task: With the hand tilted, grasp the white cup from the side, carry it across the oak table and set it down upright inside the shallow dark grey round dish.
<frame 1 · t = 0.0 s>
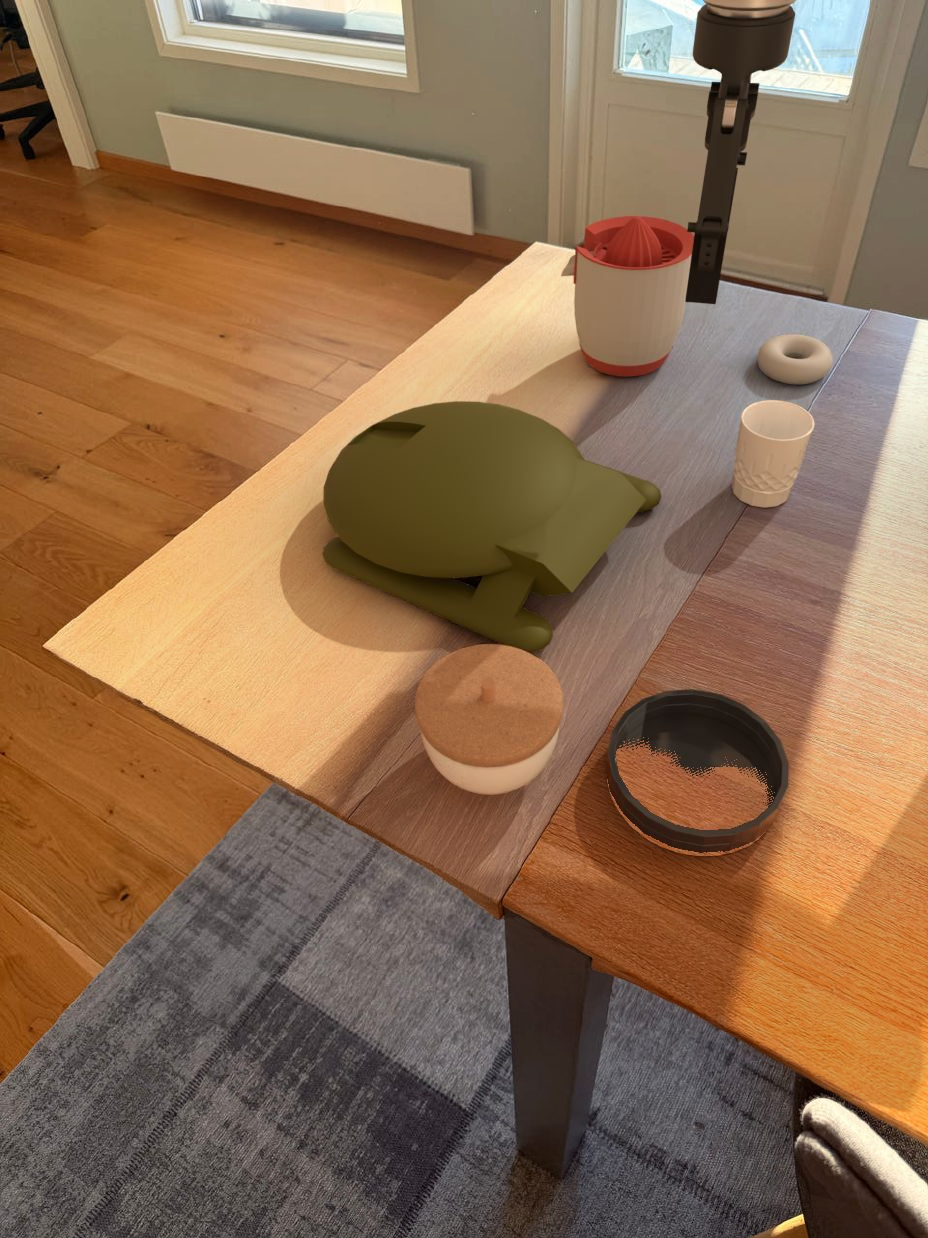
hand: (707, 267, 86), 29 cm above the table, tool pointing down, fingers open, 13 cm apart
spaceship: (474, 524, 107), on the table
white cup: (760, 491, 108), on the table
citrus juicer: (618, 357, 131), on the table
lidded bowl: (491, 761, 83), on the table
dark grey round dish: (692, 780, 81), on the table
donut: (791, 370, 126), on the table
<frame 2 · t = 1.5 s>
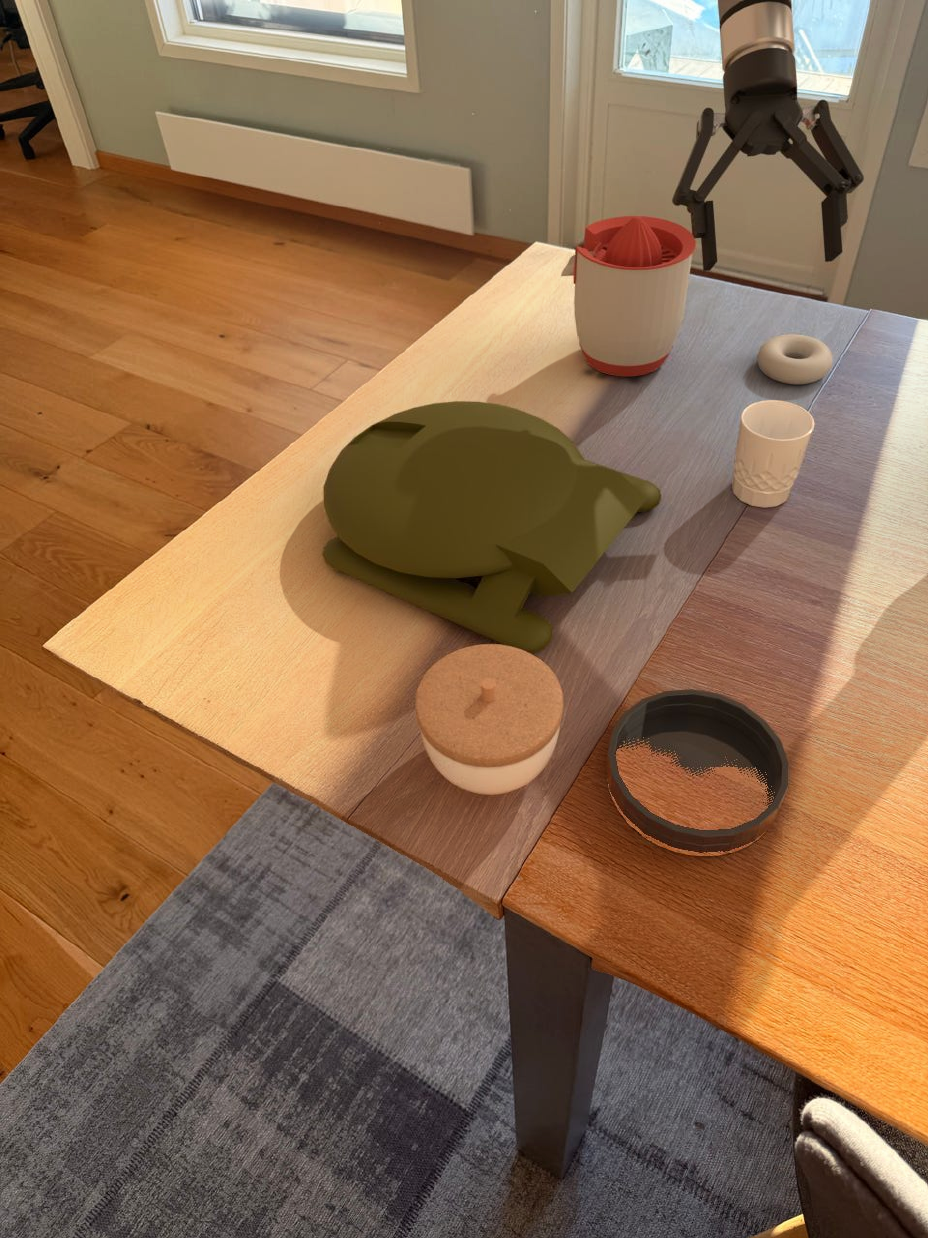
hand: (772, 261, 99), 23 cm above the table, tool tilted 45°, fingers open, 13 cm apart
nothing on the table moved.
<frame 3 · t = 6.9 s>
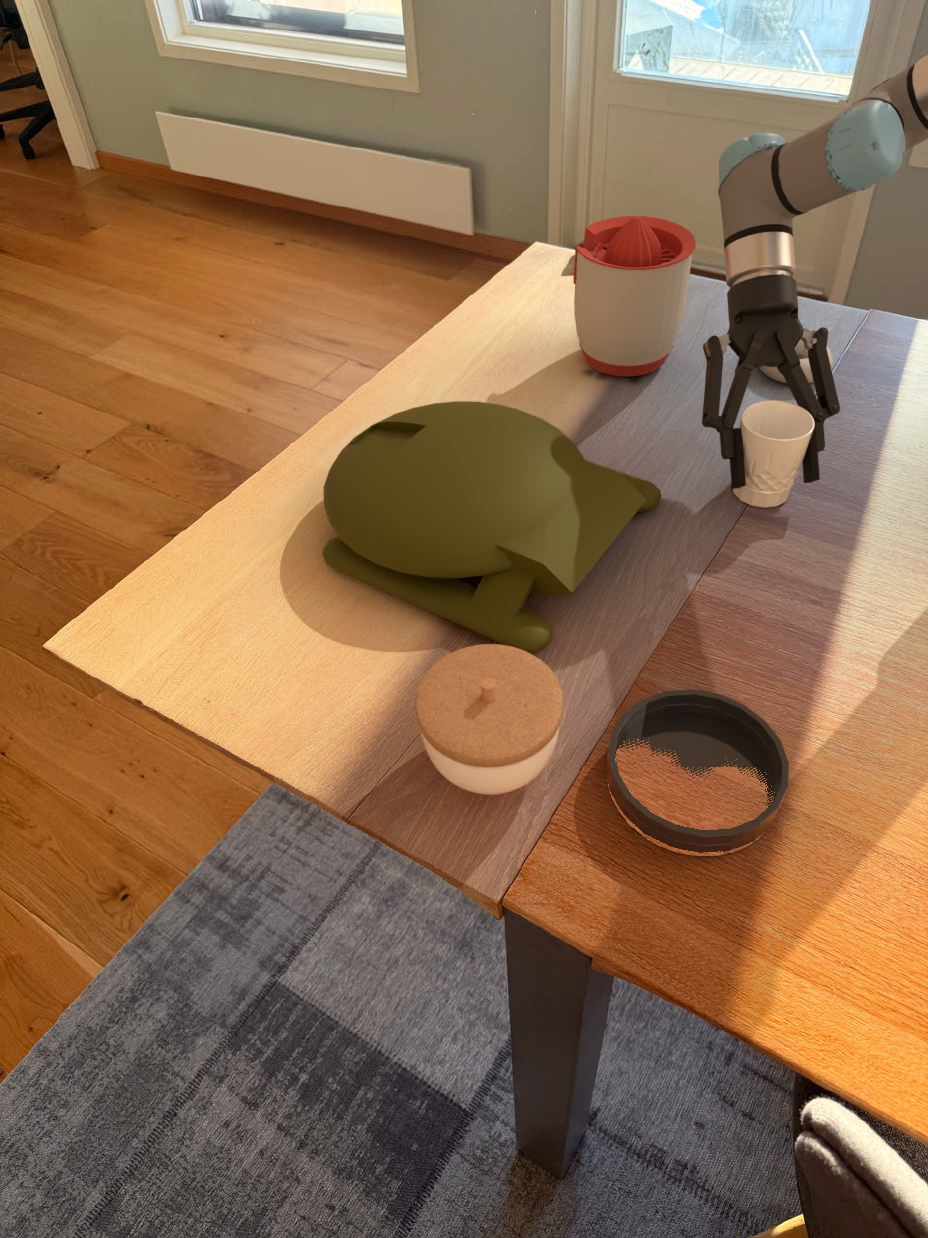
hand: (775, 484, 103), 4 cm above the table, tool tilted 45°, fingers closed on white cup, 8 cm apart
white cup: (760, 491, 108), on the table, touching gripper
everything else where it was.
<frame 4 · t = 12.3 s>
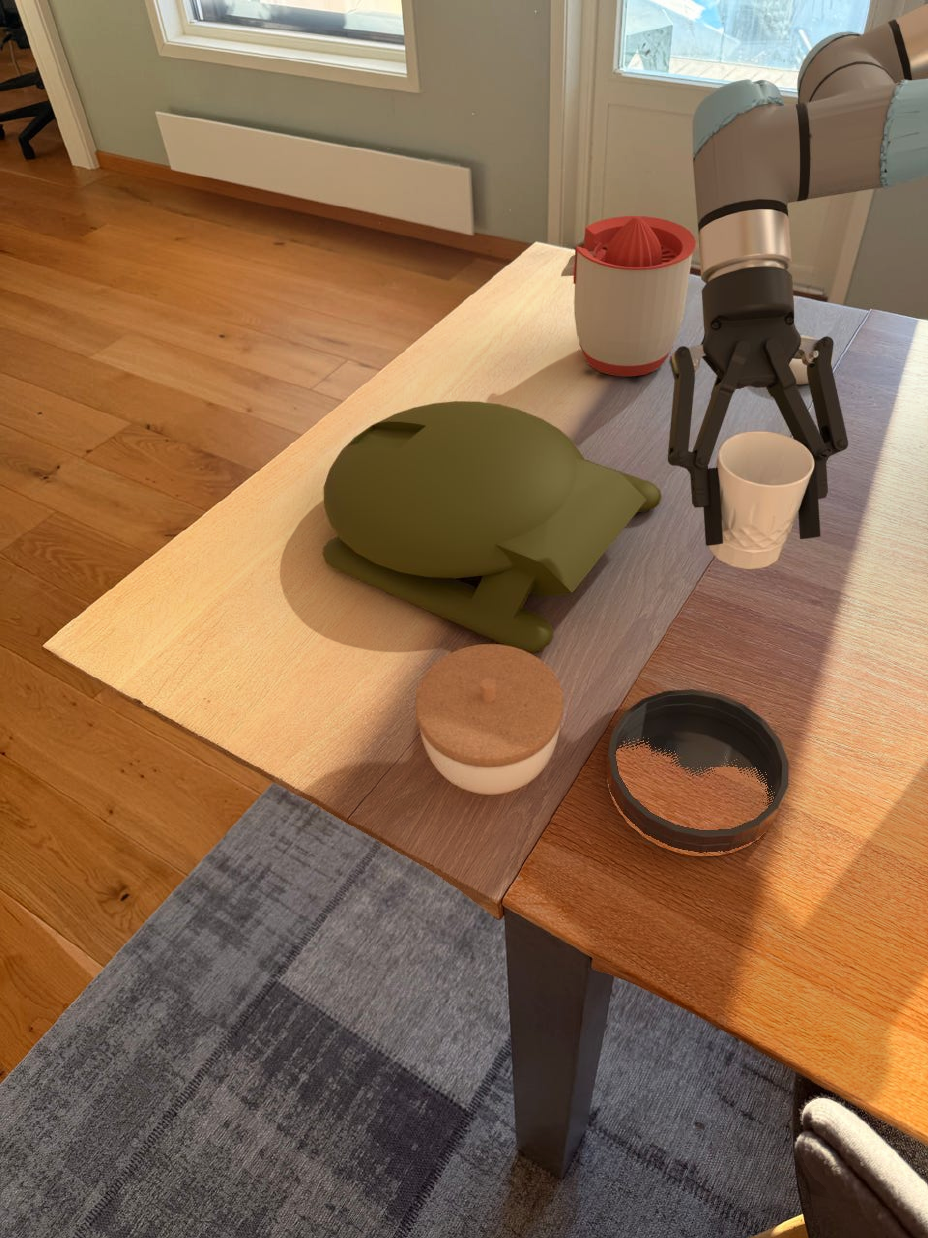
hand: (762, 540, 79), 16 cm above the table, tool tilted 45°, fingers closed on white cup, 8 cm apart
white cup: (743, 546, 84), point 12 cm above the table, touching gripper
everything else where it was.
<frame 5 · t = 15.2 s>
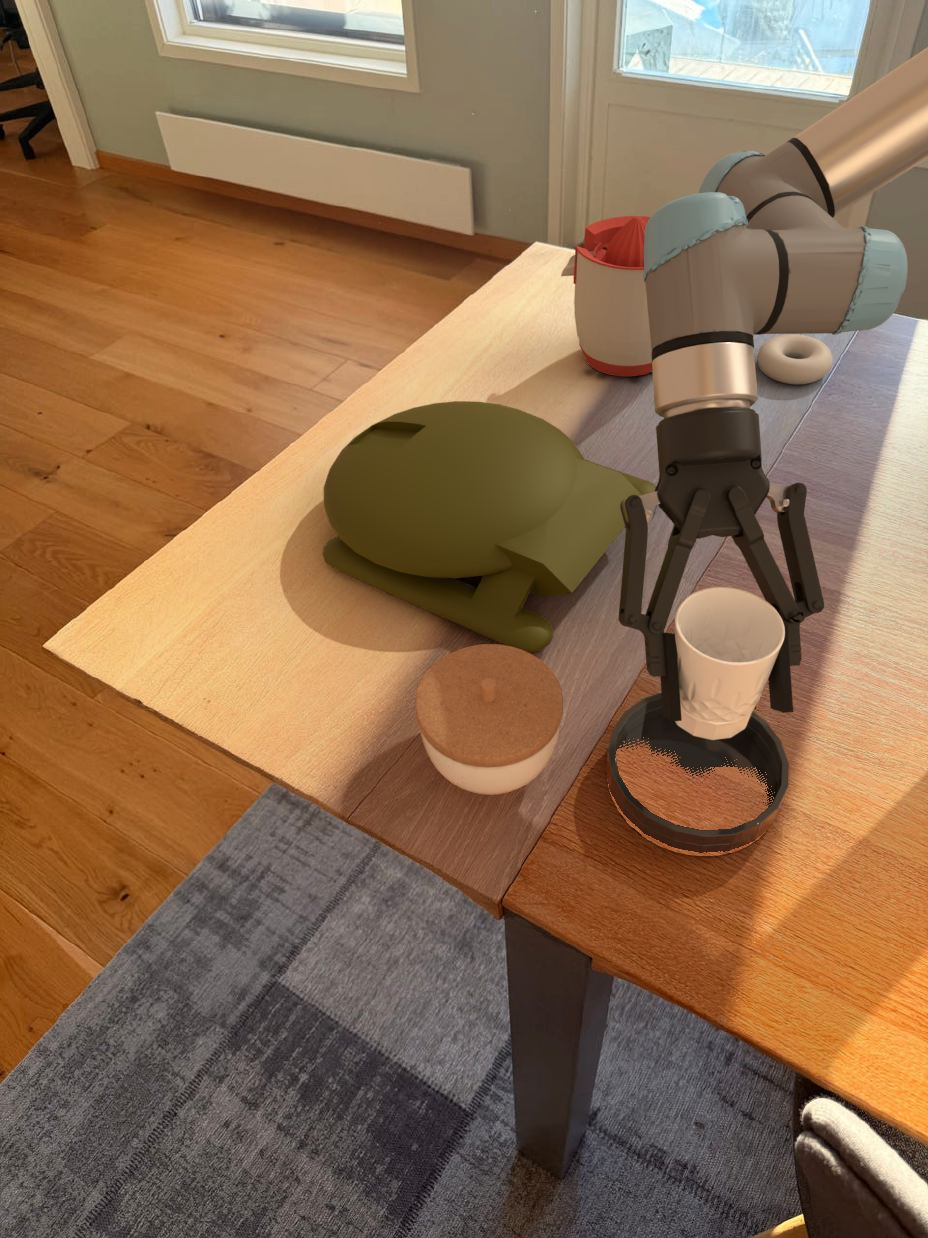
hand: (727, 714, 69), 14 cm above the table, tool tilted 45°, fingers closed on white cup, 8 cm apart
white cup: (708, 708, 74), point 10 cm above the table, touching gripper
everything else where it was.
when the fingers open (4 cm above the table, at t = 18.0 s): white cup stays where it is, resting on dark grey round dish.
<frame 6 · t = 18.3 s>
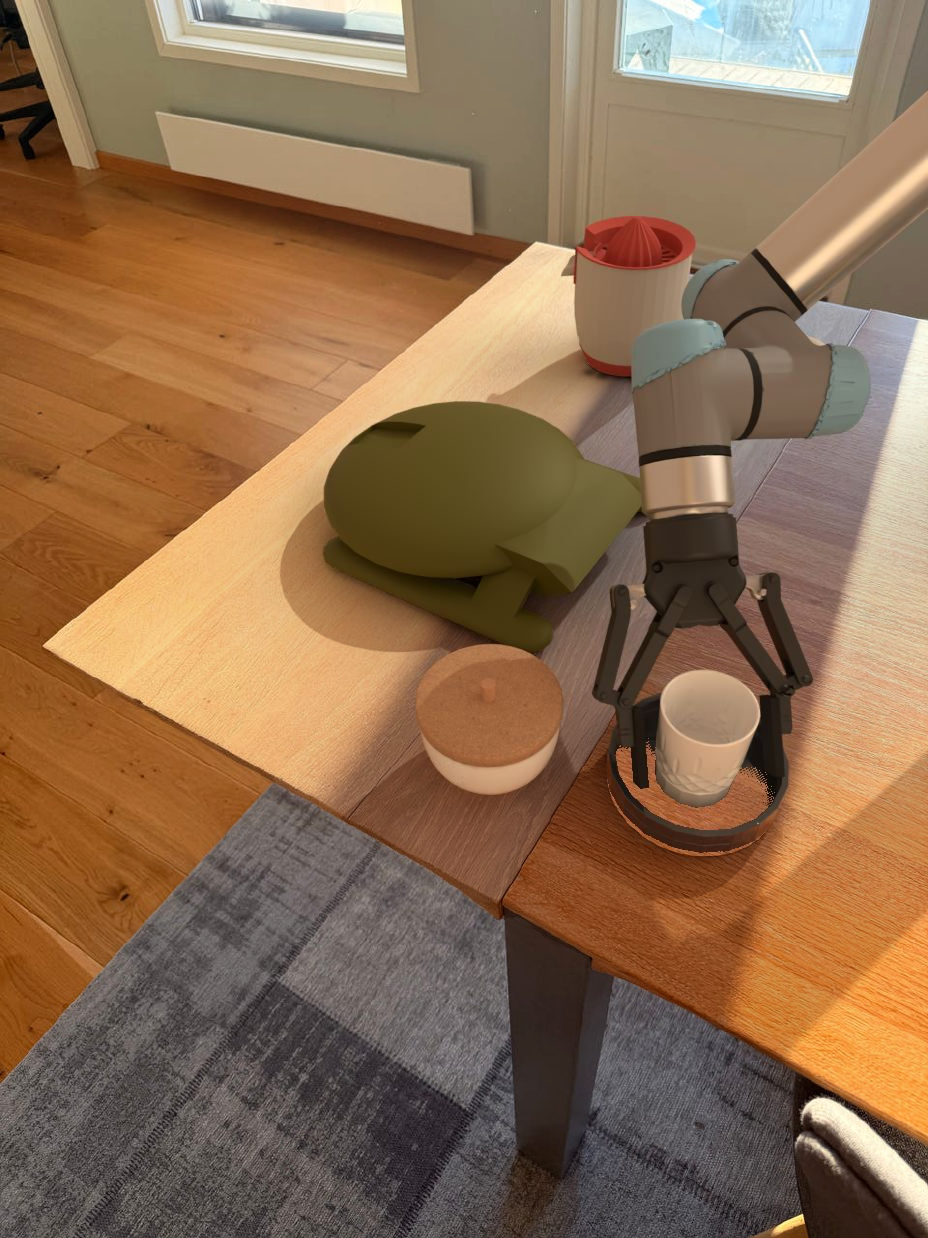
hand: (707, 779, 76), 5 cm above the table, tool tilted 45°, fingers open, 10 cm apart
white cup: (692, 777, 81), resting on dark grey round dish
everything else where it was.
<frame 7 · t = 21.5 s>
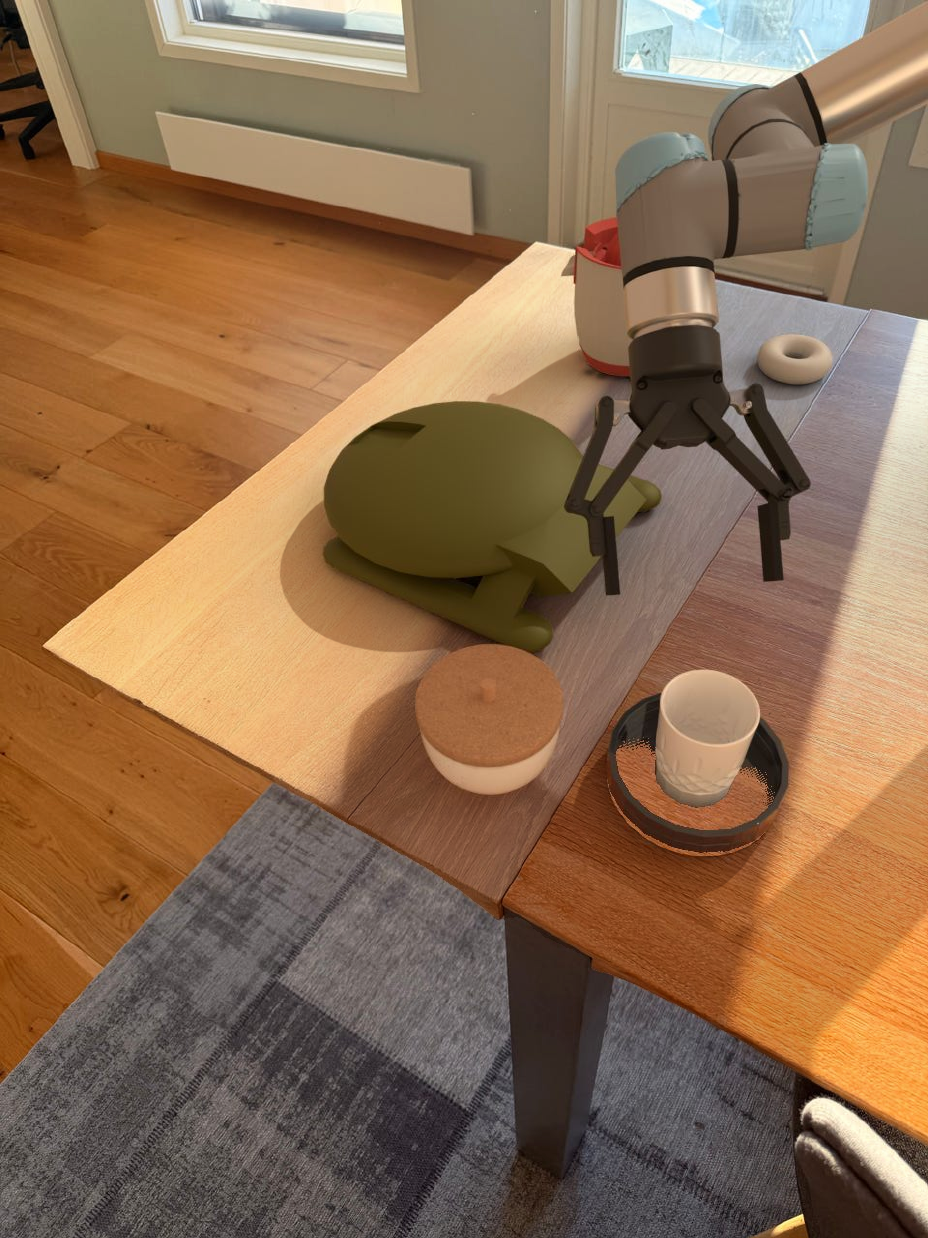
hand: (693, 588, 76), 15 cm above the table, tool tilted 45°, fingers open, 13 cm apart
nothing on the table moved.
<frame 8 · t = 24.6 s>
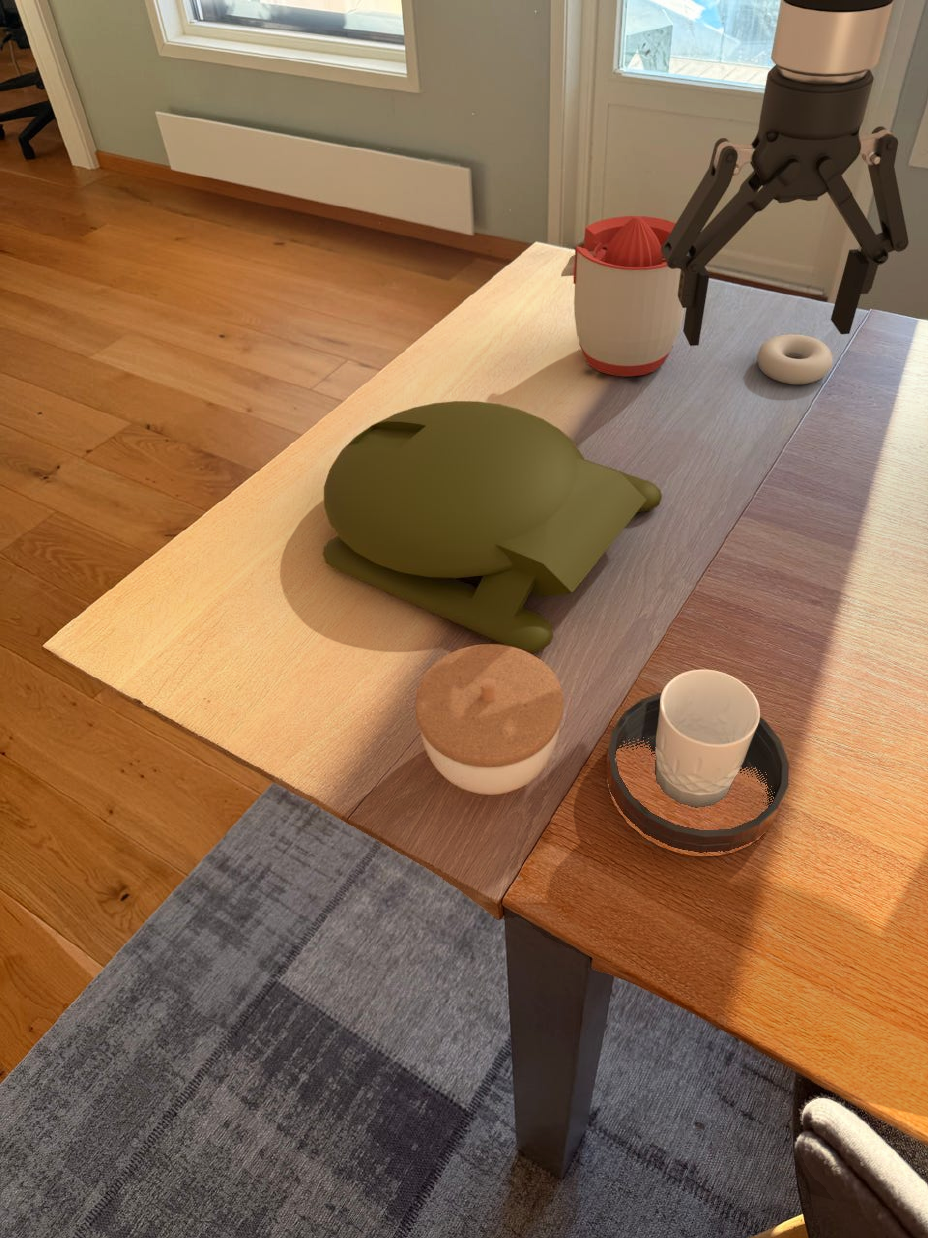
hand: (765, 332, 82), 27 cm above the table, tool pointing down, fingers open, 13 cm apart
nothing on the table moved.
at the end: white cup inside the target area in the dark grey round dish (0.1 cm from its centre), point 0.4 cm above the dark grey round dish's base; white cup tilted 0° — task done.
